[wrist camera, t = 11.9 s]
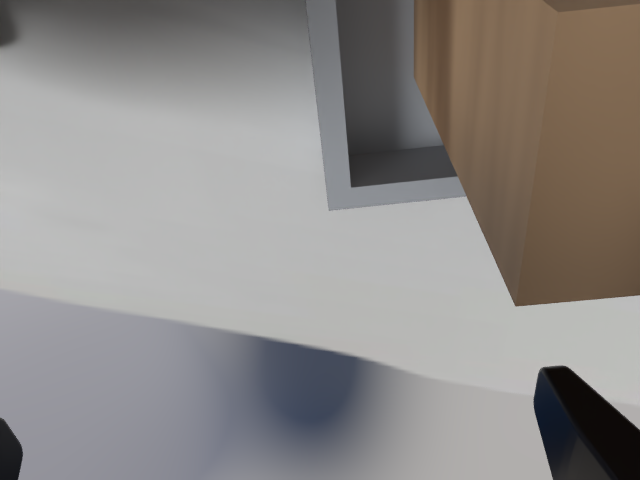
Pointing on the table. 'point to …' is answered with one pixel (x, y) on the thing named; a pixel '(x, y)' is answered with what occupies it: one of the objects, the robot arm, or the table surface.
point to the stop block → (542, 135)
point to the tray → (374, 107)
